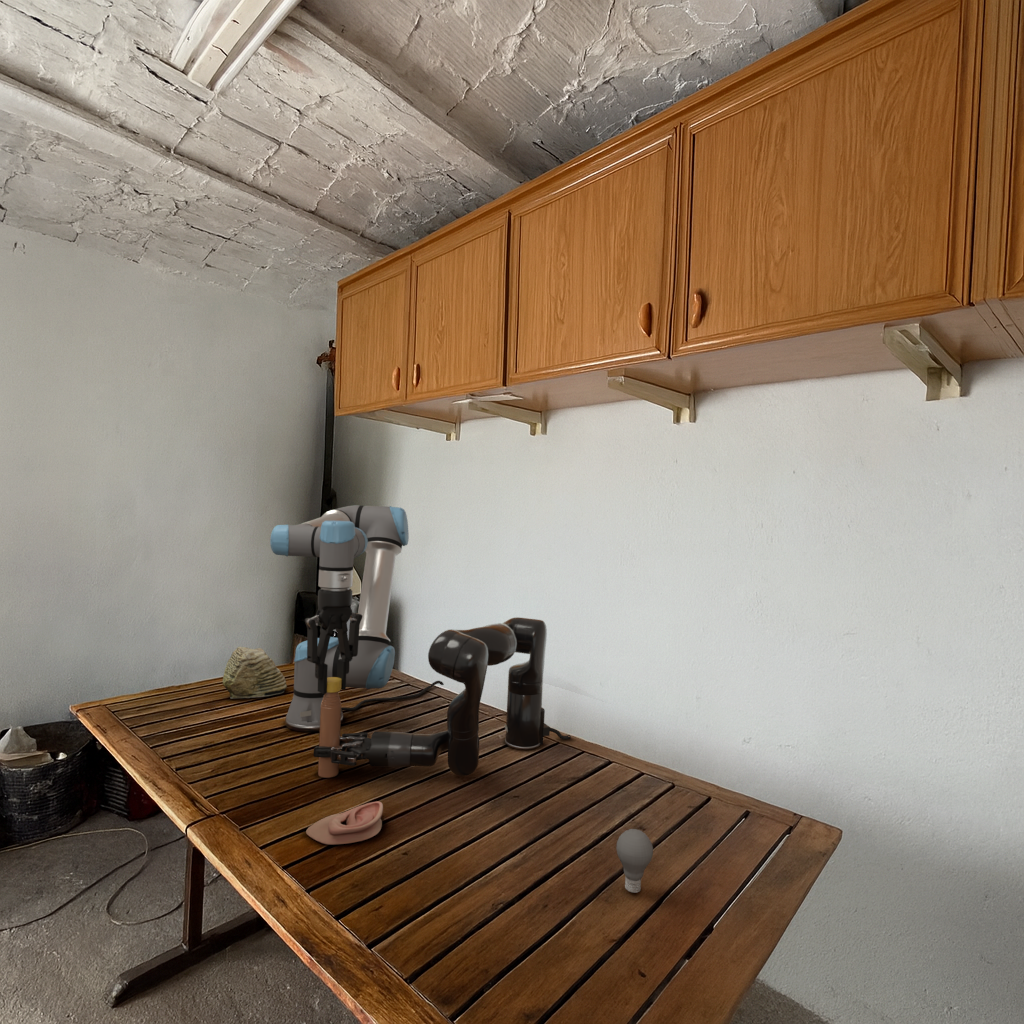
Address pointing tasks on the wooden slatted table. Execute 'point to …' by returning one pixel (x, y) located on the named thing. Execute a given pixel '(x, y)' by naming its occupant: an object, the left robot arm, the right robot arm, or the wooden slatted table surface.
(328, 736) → the bottle
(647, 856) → the light bulb
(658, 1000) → the wooden slatted table surface
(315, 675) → the left robot arm
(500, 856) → the wooden slatted table surface
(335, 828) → the anatomical model
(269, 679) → the fossil
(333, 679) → the cap
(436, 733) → the right robot arm
